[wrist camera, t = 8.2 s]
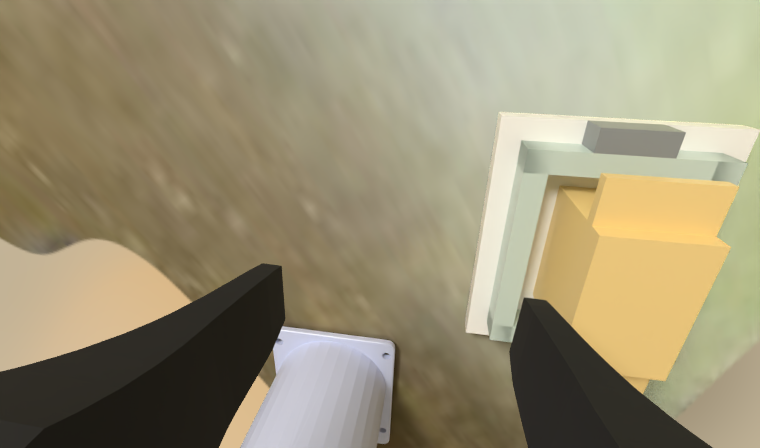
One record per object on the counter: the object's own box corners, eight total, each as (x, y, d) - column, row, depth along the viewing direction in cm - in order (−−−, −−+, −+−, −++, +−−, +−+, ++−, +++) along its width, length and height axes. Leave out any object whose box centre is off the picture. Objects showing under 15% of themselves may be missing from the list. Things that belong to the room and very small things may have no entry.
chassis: (647, 342, 21) (670, 378, 19) (465, 320, 22) (467, 351, 20) (743, 125, 16) (791, 138, 14) (498, 111, 17) (506, 122, 15)
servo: (604, 330, 20) (649, 412, 16) (525, 321, 21) (548, 398, 16) (669, 152, 16) (756, 195, 12) (569, 146, 16) (615, 185, 12)
